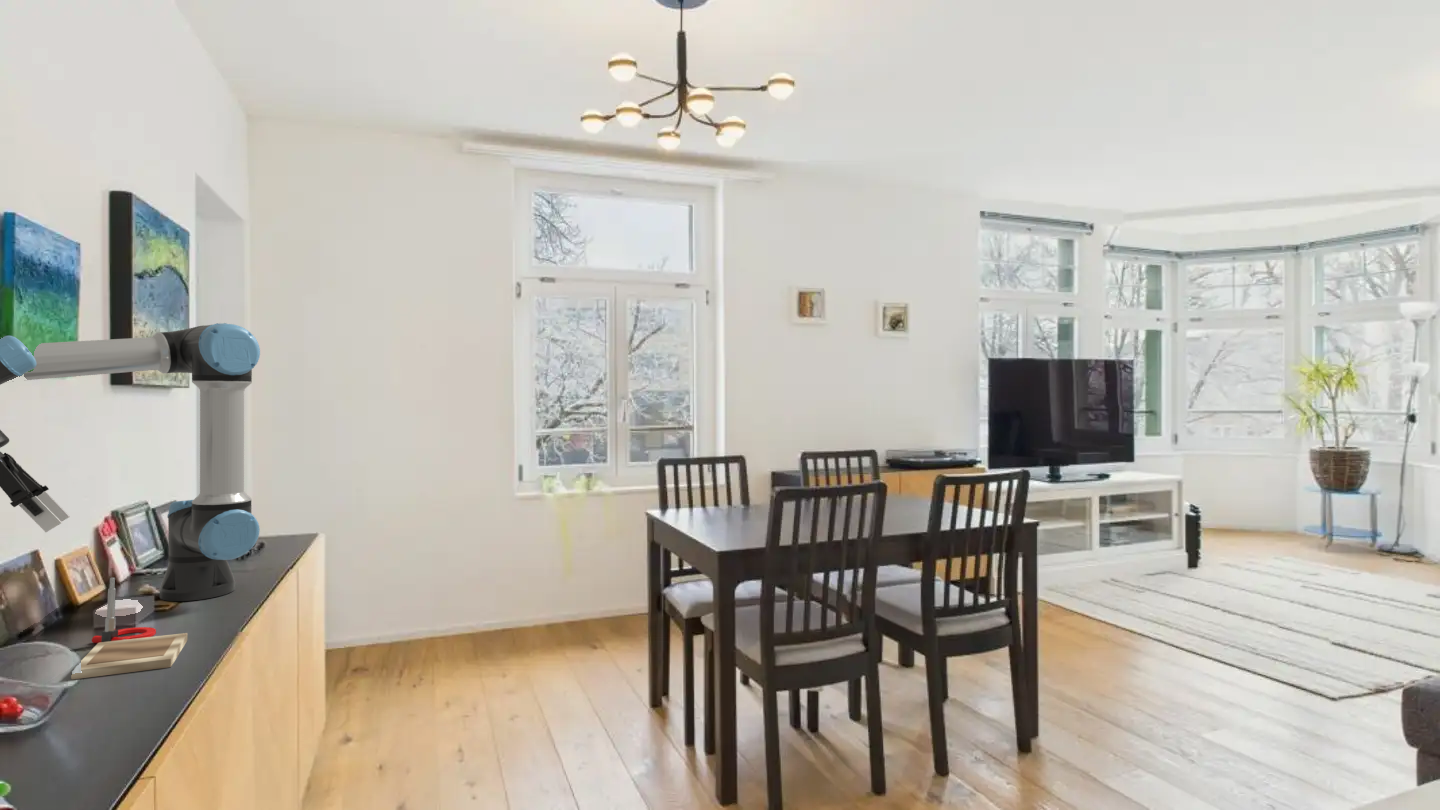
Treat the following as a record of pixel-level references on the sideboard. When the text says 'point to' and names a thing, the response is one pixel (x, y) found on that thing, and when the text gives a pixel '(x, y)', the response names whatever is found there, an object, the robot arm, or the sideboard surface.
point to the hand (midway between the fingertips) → (58, 524)
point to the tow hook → (110, 623)
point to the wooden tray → (131, 655)
